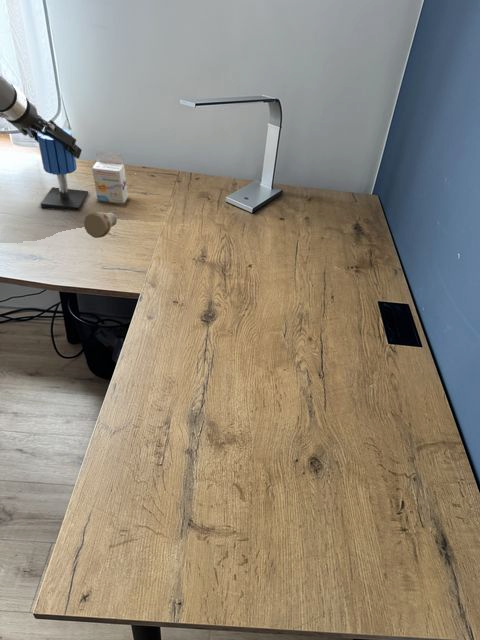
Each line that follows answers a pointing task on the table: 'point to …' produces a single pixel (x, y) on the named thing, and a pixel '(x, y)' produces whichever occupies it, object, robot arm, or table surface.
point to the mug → (99, 223)
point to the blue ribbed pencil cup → (55, 155)
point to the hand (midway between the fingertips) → (64, 150)
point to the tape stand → (64, 196)
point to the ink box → (110, 178)
